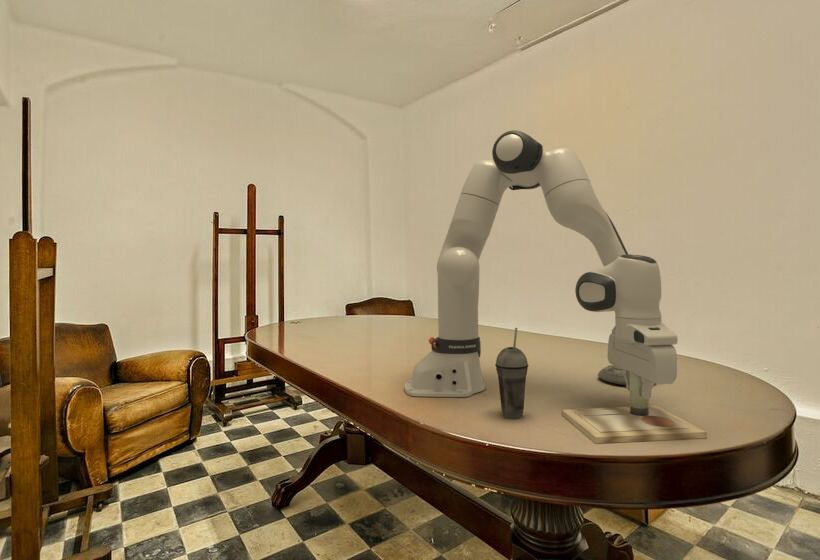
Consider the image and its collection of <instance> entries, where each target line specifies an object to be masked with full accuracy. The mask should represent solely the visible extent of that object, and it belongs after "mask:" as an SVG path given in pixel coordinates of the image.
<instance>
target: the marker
mask: <svg viewBox="0 0 820 560" xmlns="http://www.w3.org/2000/svg"><path fill="white" fill-rule="evenodd" d="M642 385H643V382H642V381H641V377H640V376H638V375H636V374H633V373H631V372H630V391H629V407H630V413H632V414H635V415H640V416H645V415H648V414H649V406H650V405H649V404H650V403H649V399H650V398H643V397H641V396H640V395H639V388H642Z"/></svg>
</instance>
